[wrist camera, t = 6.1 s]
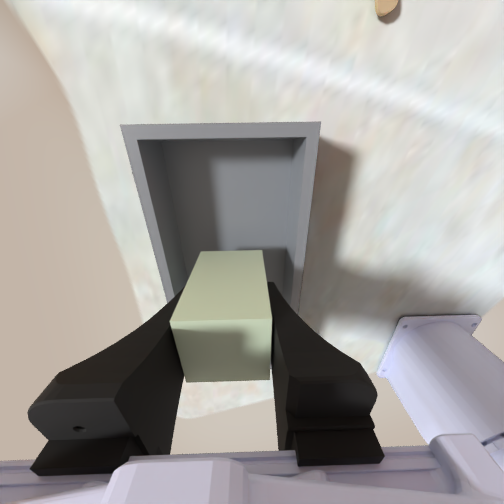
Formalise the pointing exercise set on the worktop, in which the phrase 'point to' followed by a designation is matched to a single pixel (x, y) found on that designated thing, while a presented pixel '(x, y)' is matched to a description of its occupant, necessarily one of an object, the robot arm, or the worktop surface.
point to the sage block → (224, 319)
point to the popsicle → (384, 6)
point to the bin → (226, 194)
